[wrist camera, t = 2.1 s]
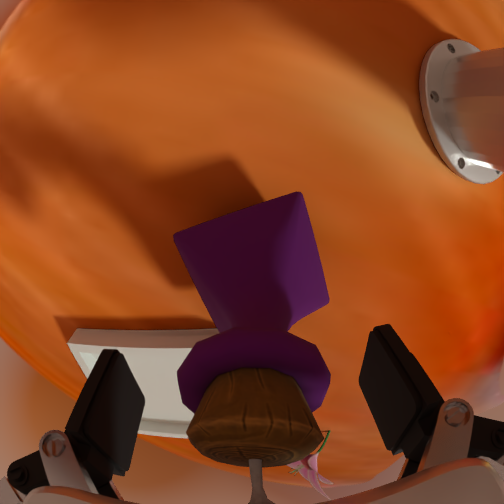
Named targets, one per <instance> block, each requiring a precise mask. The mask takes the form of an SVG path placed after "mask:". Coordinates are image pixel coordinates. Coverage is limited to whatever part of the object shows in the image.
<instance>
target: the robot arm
mask: <svg viewBox="0 0 504 504" xmlns="http://www.w3.org/2000/svg"><path fill="white" fill-rule="evenodd" d="M419 89H420V101H421V106H422V112H423V116H424V120H425V123H426V126H427V130H428V132H429V135H430V137H431V139H432V142H433V144H434V146H435V148H436V149H437V151H438V153H439V155H440V157H441V158H442V159H443V161H444V162H445V163H446V165H447V166H448V167H449V168H450V169H451V170H452V171H453V172H454V173H455V174H456V175H458V176H459V177H461V178H463V179H465V180H467V181H470V182H473V183H477V184H486V183H490V182H492V181H494V180H496V179H497V178H498V177H499V176H500V175H501V174H502V173H503V172H504V48H498V49H491V50H486V51H480V50H479V49H478V48H477V47H475V46H473V45H472V44H470V43H468V42H466V41H463V40H460V39H448V40H444V41H441V42H439V43H437V44H434V45H433V46H432V47H431V48H430V49H429V50H428V52H427V53H426V55H425V57H424V59H423V62H422V66H421V70H420V80H419ZM359 385H360V388H361V390H362V392H363V394H364V397H365V399H366V401H367V404H368V406H369V408H370V410H371V413H372V415H373V417H374V420H375V422H376V425H377V427H378V429H379V432H380V434H381V437H382V439H383V441H384V444H385V446H386V448H387V450H389V451H390V450H391V451H392V454H393V455H396V454H399V453H401V452H403V453H404V455H405V457H406V460H405V463H404V465H403V467H402V470H401V472H400V474H399V477H398V479H397V481H394V482H392V483H389V484H386V485H383V486H380V487H377V488H374V489H371V490H368V491H364V492H361V493H358V494H355V495H351V496H347V497H343V498H339V499H335V500H331V501H327V502H322V503H317V504H504V422H501V421H496V420H492V419H487V418H483V417H479V416H475V415H474V412H473V409H472V407H471V406H470V404H469V403H468V402H466V401H465V400H462V399H460V398H453V399H449V400H447V401H446V402H445V401H444V400H443V398H442V397H441V395H440V394H439V392H438V390H437V389H436V387H435V386H434V384H433V383H432V381H431V380H430V378H429V377H428V375H427V374H426V372H425V371H424V369H423V368H422V366H421V365H420V364H419V362H418V361H417V359H416V358H415V356H414V355H413V354H412V353H410V352H409V350H408V349H407V347H406V346H405V344H404V343H403V342H402V340H401V339H400V337H399V336H398V335H397V333H396V332H395V331H394V329H393V328H392V327H391V325H390V324H385V325H381V326H376V327H374V329H373V331H371V332H370V334H369V338H368V342H367V347H366V351H365V356H364V360H363V364H362V368H361V372H360V376H359ZM144 406H145V397H144V395H143V393H142V391H141V389H140V387H139V385H138V383H137V381H136V380H135V378H134V376H133V374H132V372H131V370H130V368H129V365H128V363H127V361H126V359H125V357H124V355H123V354H122V353H120V352H119V350H117V349H103V350H102V352H101V353H100V355H99V357H98V359H97V361H96V363H95V365H94V367H93V369H92V371H91V373H90V375H89V377H88V379H87V381H86V383H85V385H84V387H83V389H82V391H81V394H80V396H79V398H78V400H77V402H76V405H75V406H74V409H73V411H72V413H71V416H70V418H69V420H68V422H67V425H66V427H65V429H66V430H65V432H61V431H59V430H51V431H49V432H47V433H45V434H44V436H43V437H42V438H41V440H40V443H39V450H38V451H36V452H34V453H32V454H30V455H28V456H25V457H23V458H21V459H19V460H16V461H15V462H13V463H11V465H10V466H9V468H8V471H7V476H8V478H6V477H3V478H2V479H1V480H0V504H138V503H133V502H128V501H124V499H123V498H122V497H121V495H120V493H119V491H118V490H117V488H116V486H115V485H114V483H113V481H112V476H113V474H115V475H120V476H125V471H128V470H129V467H130V463H131V459H132V455H133V450H134V446H135V442H136V438H137V433H138V429H139V425H140V422H141V418H142V414H143V410H144Z"/></svg>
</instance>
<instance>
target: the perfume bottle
mask: <svg viewBox="0 0 504 504" xmlns="http://www.w3.org/2000/svg"><path fill="white" fill-rule="evenodd" d="M173 238H174V242H175V244H176V246H177V249H178V251H179V253H180V255H181V257H182V259H183V261H184V263H185V266H186V268H187V270H188V272H189V274H190V276H191V278H192V280H193V282H194V284H195V286H196V288H197V290H198V292H199V294H200V296H201V298H202V300H203V302H204V304H205V306H206V308H207V310H208V312H209V314H210V316H211V318H212V320H213V322H214V323H215V325H216V327H217V329H218V331H219V334H216V335H214V336H211V337H208V338H206V339H203V340H201V341H198V342H196V343H195V345H194V346H193V348H192V349H191V351H190V352H189V354H188V355H187V357H186V358H185V360H184V361H183V363H182V364H181V366H180V367H179V369H178V370H177V381H178V386H179V390H180V395H181V399H182V404H184V405H185V406H186V407H187V408H188V409H189V410H190V411H192V412H193V413H194V416H193V418H192V420H191V422H190V424H189V426H188V429H187V431H186V434H187V436H188V438H189V440H190V442H191V444H192V445H193V446H194V447H195V448H196V449H197V450H198V451H199V452H200V453H201V454H202V455H204V456H206V457H208V458H211V459H213V460H215V461H217V462H222V463H226V464H231V465H236V466H244V467H249V468H250V475H251V482H252V495H251V500H250V502H249V503H248V504H274V503H273V502H272V501H270V500H269V499H267V496H266V494H265V491H264V489H263V483H262V467H273V466H282V465H287V464H291V463H294V462H297V461H300V460H302V459H304V458H305V457H306V456H308V455H309V454H310V453H311V452H313V451H314V450H315V449H316V448H317V447H318V445H319V444H320V443H321V442H322V441H323V439H324V437H323V435H322V433H321V431H320V429H319V427H318V425H317V422H316V420H315V418H314V416H313V414H312V412H313V411H315V410H316V409H317V408H319V407H320V406H321V404H322V402H323V400H324V397H325V395H326V392H327V390H328V387H329V384H330V376H331V374H330V372H329V370H328V368H327V366H326V364H325V362H324V360H323V358H322V356H321V354H320V352H319V350H318V348H317V347H316V345H314V344H312V343H310V342H308V341H306V340H304V339H301V338H299V337H297V336H295V335H293V334H291V333H289V332H288V330H289V329H290V328H291V326H292V325H293V324H295V323H296V322H297V321H298V320H300V319H301V318H303V317H305V316H307V315H309V314H310V313H312V312H314V311H316V310H318V309H319V308H321V307H323V306H325V305H326V304H328V303H329V295H328V291H327V286H326V282H325V278H324V274H323V269H322V265H321V261H320V257H319V253H318V249H317V245H316V241H315V238H314V234H313V230H312V226H311V223H310V219H309V215H308V212H307V208H306V205H305V201H304V198H303V195H302V193H301V192H294V193H290V194H287V195H284V196H281V197H278V198H275V199H272V200H269V201H266V202H262V203H259V204H256V205H253V206H250V207H247V208H244V209H242V210H239V211H236V212H233V213H230V214H227V215H224V216H221V217H218V218H215V219H213V220H210V221H207V222H204V223H201V224H199V225H196V226H193V227H190V228H188V229H185V230H182V231H180V232H177V233H175V234H174V235H173Z"/></svg>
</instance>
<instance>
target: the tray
mask: <svg viewBox="0 0 504 504" xmlns="http://www.w3.org/2000/svg"><path fill="white" fill-rule="evenodd" d="M216 334H219V331H218V329H217V328H215V329H191V330H103V329H81V328H77V329H76V331H75V332H74V334H73V335H72V336H71V338H70V339H69V341H68V342H67V344H68V346H69V348H70V350H71V351H72V353H73V355H74V357H75V359H76V360H77V362H78V364H79V365H80V367H81V369H82V370H83V372H84V374H85V375H86V377H87V379H88V377H89V375H90V373H91V371H92V369H93V367H94V365H95V363H96V361H97V359H98V357H99V355H100V353H101V352H102V350H103V349H117V350H119V352H120V353H122V354H123V355H124V357H125V359H126V361H127V363H128V365H129V368H130V370H131V372H132V374H133V376H134V378H135V380H136V381H137V383H138V385H139V387H140V389H141V391H142V393H143V395H144V397H145V406H144V410H143V414H142V418H141V422H140V425H139V429H138V433H139V434H146V435H155V436H164V437H176V438H188V436H187V434H186V431H187V429H188V426H189V424H190V422H191V420H192V418H193V416H194V413H193V412H192V411H190V410H189V409H188V408H187V407H186V406H185V405H184V404H182V399H181V395H180V390H179V386H178V381H177V370H178V369H179V367H180V366H181V364H182V363H183V361H184V360H185V358H186V357H187V355H188V354H189V352H190V351H191V349H192V348H193V346H194V345H195V343H196V342H198V341H201V340H203V339H206V338H208V337H211V336H214V335H216Z"/></svg>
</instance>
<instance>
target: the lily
mask: <svg viewBox="0 0 504 504" xmlns="http://www.w3.org/2000/svg"><path fill="white" fill-rule="evenodd" d="M329 433H330V431H328V433H327V435H326V438H325V440H324V442H323V444H322V446H321V447H320V449H319V450H318V451H317V452H316V453H315V454H309V455H308V456H306V457H305V458H304V459H302V460H300V461H297V462H294V463H291V464H287V466H289V467H291V469H295V470H294V471H292V472H291V473H290V472H288V473H290V474H292V473H293V472H295V471H297V472H298V471H299V473H300V474H301V475H302V476H303V477H304V478H305V479H306V480H308V481H310V483H311V485H312V486H313V487H314V488H315V489H316V490H317V491H318V492H319V493H321V494H322V495H323V496H325V497H326V498H328V499H329V500H331V499H330V498H329V497H328V496H327V495H326V494H325V493H324V492H323V490H322V488H321V487H320V484H319V482H318V478H317V474H316V473H317V456H318V454H319V452H320V451H321V450H322V448H323V446H324V445H325V443H326V441H327V438H328V436H329ZM296 469H297V470H296ZM297 472H296V473H297ZM296 473H295V475H296ZM295 475H294V476H295ZM318 477H319V480H320V481H321V482H323V483H326V484H334V483H332V482H331V481H329V480H327V479H326V478H324V477H322V476H321V475H319V474H318Z"/></svg>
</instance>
